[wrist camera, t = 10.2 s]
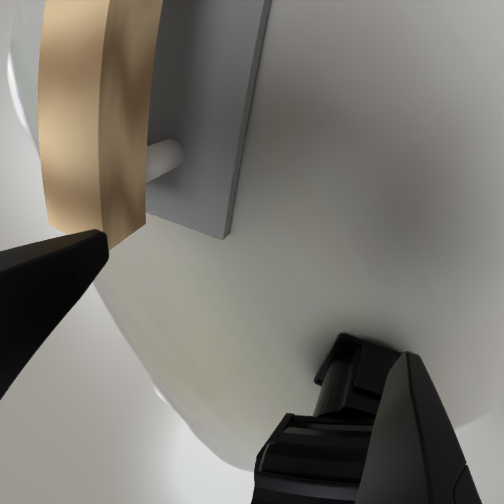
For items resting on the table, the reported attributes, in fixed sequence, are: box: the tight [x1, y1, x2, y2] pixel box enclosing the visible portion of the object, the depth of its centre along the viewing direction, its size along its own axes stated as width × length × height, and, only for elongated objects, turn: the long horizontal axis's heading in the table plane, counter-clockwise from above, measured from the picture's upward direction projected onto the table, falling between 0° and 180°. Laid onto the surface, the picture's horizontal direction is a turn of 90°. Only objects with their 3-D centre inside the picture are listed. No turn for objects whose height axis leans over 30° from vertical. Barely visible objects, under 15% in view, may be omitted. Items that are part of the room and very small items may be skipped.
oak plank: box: [38, 0, 163, 250], centre depth 12 cm, size 18×5×4 cm, turn 170°
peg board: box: [145, 0, 271, 240], centre depth 15 cm, size 22×12×5 cm, turn 170°
